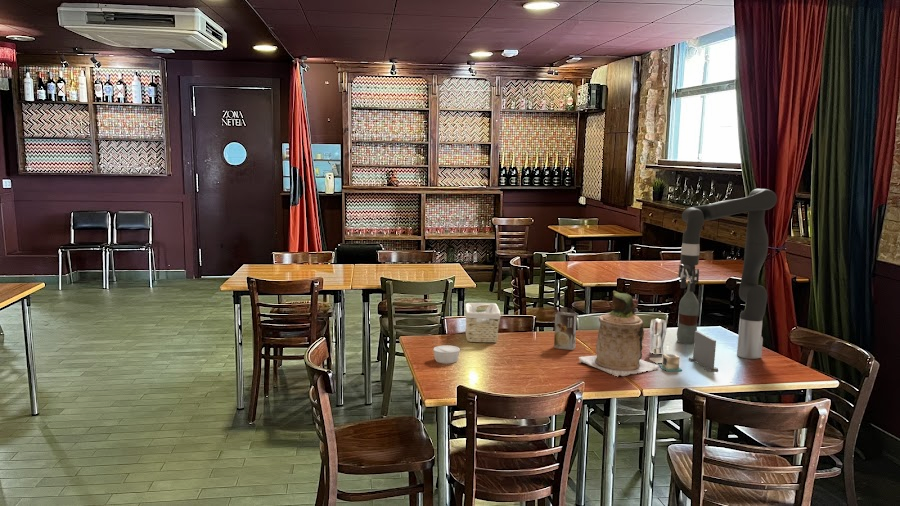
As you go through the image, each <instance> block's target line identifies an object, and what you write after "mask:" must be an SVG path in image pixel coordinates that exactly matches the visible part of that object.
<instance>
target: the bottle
mask: <svg viewBox="0 0 900 506" xmlns="http://www.w3.org/2000/svg"><path fill="white" fill-rule="evenodd" d="M689 288H690V281H689V280H687V290H686V293H685V294H684V295H683V296H682V297H681V299H680V301H679V305H678V326H677V329H676V330H677V331H676V339H677V342H678V341H679V342H678V343H680V342H681V344H684V343H686V344H685V345H694V338H695V331H698V327H697V324H698V318H699V311H700V303H699V300H698V298H697V297H696V295H695V293H694V292H690V291H689Z"/></svg>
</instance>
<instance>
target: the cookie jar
mask: <svg viewBox="0 0 900 506" xmlns="http://www.w3.org/2000/svg"><path fill="white" fill-rule="evenodd" d="M612 295H613V296H612V299H613V300H611V303H612V305H613V310H611V311H610V312H608V313H605V314H602V315H600V316H599V317H598V321H599V323H600V324H599V328H598V334H597V339H596V342H595V343H596V345H595V352H596V355H587V356H586V355H585V356H579V357H578V360H579V364H581V363H583V364H586V365H587V366H590V367H593V368H596V369H598V370H600V371H603V372H605V373H608V374H609V375H611V374H612V376H613V375H614V376H613V377H615V376H617V377H616V378H618V377H619V376H621V377H626V376H629V375H637V373H638V374H642V372H643V373H646V371H648V372H654V371H657V370H658V369H659V368H660V367H659V364H655V363H654V362H653V363H652V362H649V361H646V360H644V359H642V357H643V354H642V353H643V352H642V351H643V340H644V338H645V337H644V335H645V331H644V324H645V323H644V322H643V319H642V318H640V317H639V316H638V315H637V314H635V313H636V312H635V310H634V309H637V308H638V303H639V301H638V300H637V299H635V298H633V297H632V295H630V294H629V293H625V292H624V293H621V292H618V291H616V290H613V291H612ZM656 369H657V370H656ZM653 370H654V371H653Z"/></svg>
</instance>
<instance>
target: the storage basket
mask: <svg viewBox="0 0 900 506" xmlns="http://www.w3.org/2000/svg"><path fill="white" fill-rule="evenodd" d="M464 310H465V337H466V341H467V342H469V343H472V342H473V343H497V342H498V339H499V338H498V337H499V336H498V335H499V325H500V321H501V311H500V308H499V306H498V304H497V303H495V302H492V303H491V302H467V303H465V307H464ZM477 310H482V311H479V312H478V311H477Z"/></svg>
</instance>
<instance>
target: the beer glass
mask: <svg viewBox="0 0 900 506" xmlns="http://www.w3.org/2000/svg"><path fill="white" fill-rule="evenodd" d="M649 325H650V327H649V337H650V349H649V353H650V354H652V353H653V355H656V354H662V355H663V353H664V343H665V339H666V334H667V320H666V319H665V320H664V319H659V318H652V319H651V320H650V324H649ZM664 354H665V353H664Z"/></svg>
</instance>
